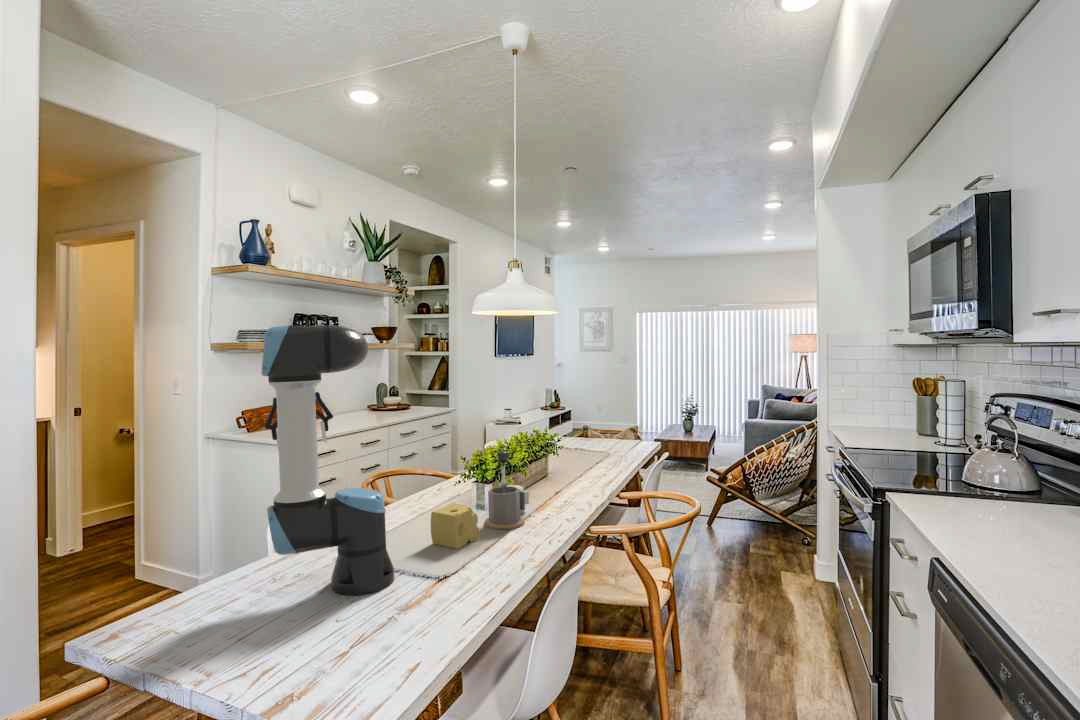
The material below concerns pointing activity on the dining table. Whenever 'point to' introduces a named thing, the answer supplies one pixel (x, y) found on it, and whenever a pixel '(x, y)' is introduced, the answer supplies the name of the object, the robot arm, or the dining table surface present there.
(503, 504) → the grey octagonal cup
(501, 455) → the plunger
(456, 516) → the cheese
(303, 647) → the dining table surface
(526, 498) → the pale green dome knob
